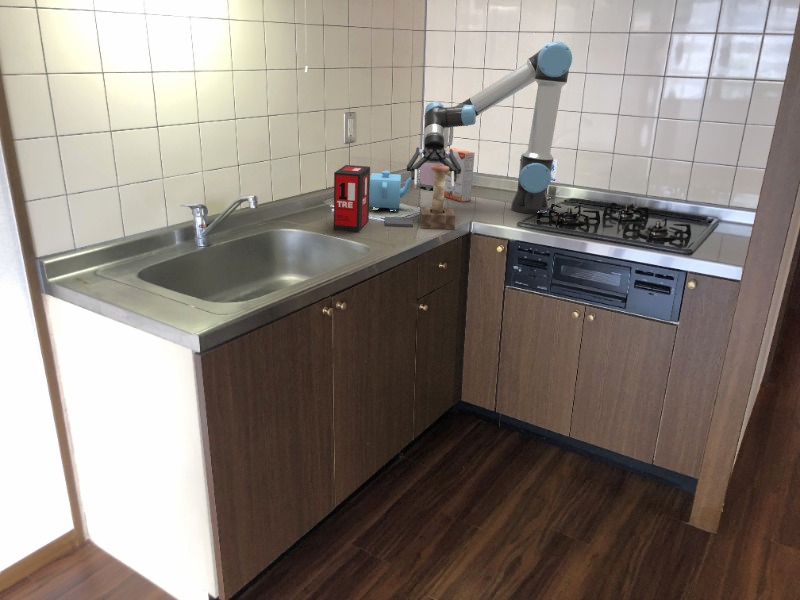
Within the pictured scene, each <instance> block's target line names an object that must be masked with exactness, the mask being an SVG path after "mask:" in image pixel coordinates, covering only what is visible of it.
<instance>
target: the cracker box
mask: <svg viewBox="0 0 800 600" xmlns="http://www.w3.org/2000/svg"><path fill="white" fill-rule="evenodd" d="M450 149H452V150H453V155H454V156H455V158H456V160H457V162H458V163H459V165H460V167H461V168H462V169H461V173H460V174H457V179H456V182H454V188H453V190H451V172H450V171H447V172H446V174H445V189H444V198H447V199H450V200H454V201H457V202H459V203H464V202H469V201H471V199H472V187H473V177H474V163H475V154H476V153H475V152H473V151H469V150H465V149H460V148H456V147H455V148H454V147H447V148H445V149H444V150H445V151H449V150H450ZM445 157H446V159H447V160H448V161H449V162H450V163H451V164H452V162H451V161H450V159H449V157H448V156H447V155H445ZM452 165H453V164H452ZM443 166H444V164H443Z"/></svg>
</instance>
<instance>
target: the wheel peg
mask: <svg viewBox="0 0 800 600" xmlns="http://www.w3.org/2000/svg"><path fill="white" fill-rule="evenodd" d="M431 170H433V171H435V172H434V187H433V188H432V191H433V192H432V206H431V207H432V213H443V208H444V200H445V197H444V189H445V174H446V172H447V171H449V167H448V166H443V165H433V166H431Z"/></svg>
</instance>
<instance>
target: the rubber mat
mask: <svg viewBox="0 0 800 600" xmlns="http://www.w3.org/2000/svg"><path fill="white" fill-rule="evenodd" d="M384 226H385V227H399V228H400V227H403V228H413V227H414V223H413V218H412V217H409V216H408V217H401V216H384Z"/></svg>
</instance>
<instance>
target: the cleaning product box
mask: <svg viewBox="0 0 800 600" xmlns="http://www.w3.org/2000/svg"><path fill="white" fill-rule="evenodd" d="M333 172H334V171H333ZM370 177H371V167H370V166H368V165H367V166H364V165H353V164H351V165H350V164H345V165H343V166H342V167H340V168H338V170H336V171H335V172H334V174H333V181H334V182H333V231H336V232H337V231H338V232H349V233H350V232H351V233H352V232H353V233H360V232H361V230H362V229H363V228H364V227H365V226H366V224H368V222H369V221H370V220H369V219H370V216H369V215H370V213H369V211H370V207H369V189H370Z"/></svg>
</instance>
